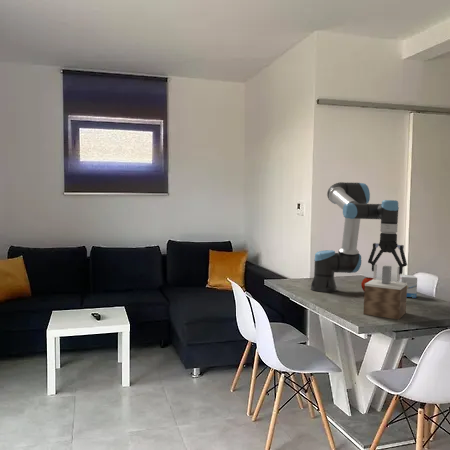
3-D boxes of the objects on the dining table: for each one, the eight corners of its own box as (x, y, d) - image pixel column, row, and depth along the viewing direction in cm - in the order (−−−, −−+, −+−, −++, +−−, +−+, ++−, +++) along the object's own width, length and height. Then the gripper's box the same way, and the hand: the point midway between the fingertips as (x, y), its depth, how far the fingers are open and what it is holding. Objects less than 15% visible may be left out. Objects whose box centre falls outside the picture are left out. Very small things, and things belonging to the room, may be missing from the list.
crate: (363, 314, 221) (364, 285, 220) (371, 307, 234) (373, 281, 234) (399, 319, 212) (400, 289, 212) (405, 312, 226) (407, 284, 225)
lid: (364, 285, 220) (365, 266, 219) (373, 281, 234) (374, 263, 233) (400, 289, 212) (401, 270, 211) (407, 284, 225) (408, 266, 225)
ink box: (416, 298, 262) (417, 277, 262) (400, 297, 264) (401, 276, 263) (413, 295, 271) (414, 275, 270) (398, 294, 272) (399, 274, 272)
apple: (358, 295, 264) (359, 276, 264) (365, 293, 271) (366, 275, 270) (372, 298, 259) (373, 278, 258) (379, 296, 265) (380, 277, 264)
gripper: (362, 231, 224) (360, 277, 225) (412, 234, 212) (410, 283, 213) (366, 231, 230) (364, 276, 231) (415, 233, 219) (413, 281, 220)
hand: (386, 279), depth 222 cm, fingers open, 10 cm apart
